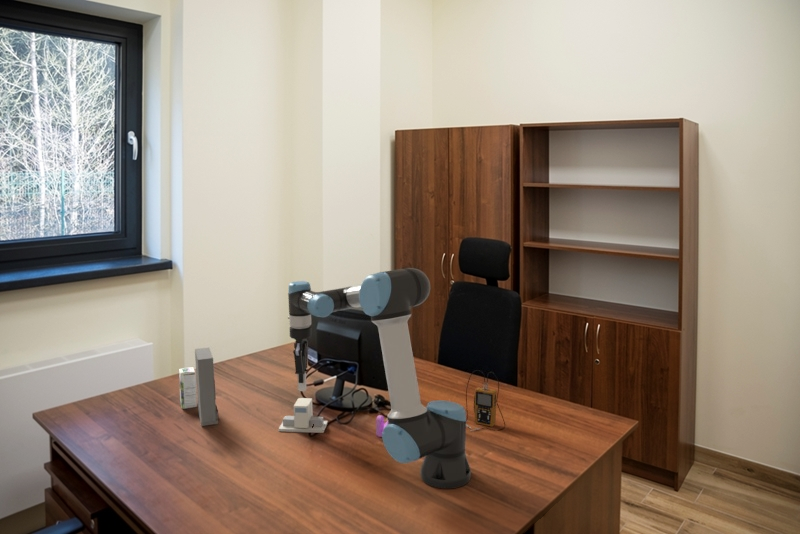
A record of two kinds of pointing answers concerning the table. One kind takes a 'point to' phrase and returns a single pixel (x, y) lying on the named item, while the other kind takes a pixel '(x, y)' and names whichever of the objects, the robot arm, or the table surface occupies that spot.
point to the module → (302, 412)
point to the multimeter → (484, 405)
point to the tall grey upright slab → (206, 387)
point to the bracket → (380, 425)
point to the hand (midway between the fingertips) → (302, 390)
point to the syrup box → (187, 388)
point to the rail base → (289, 427)
